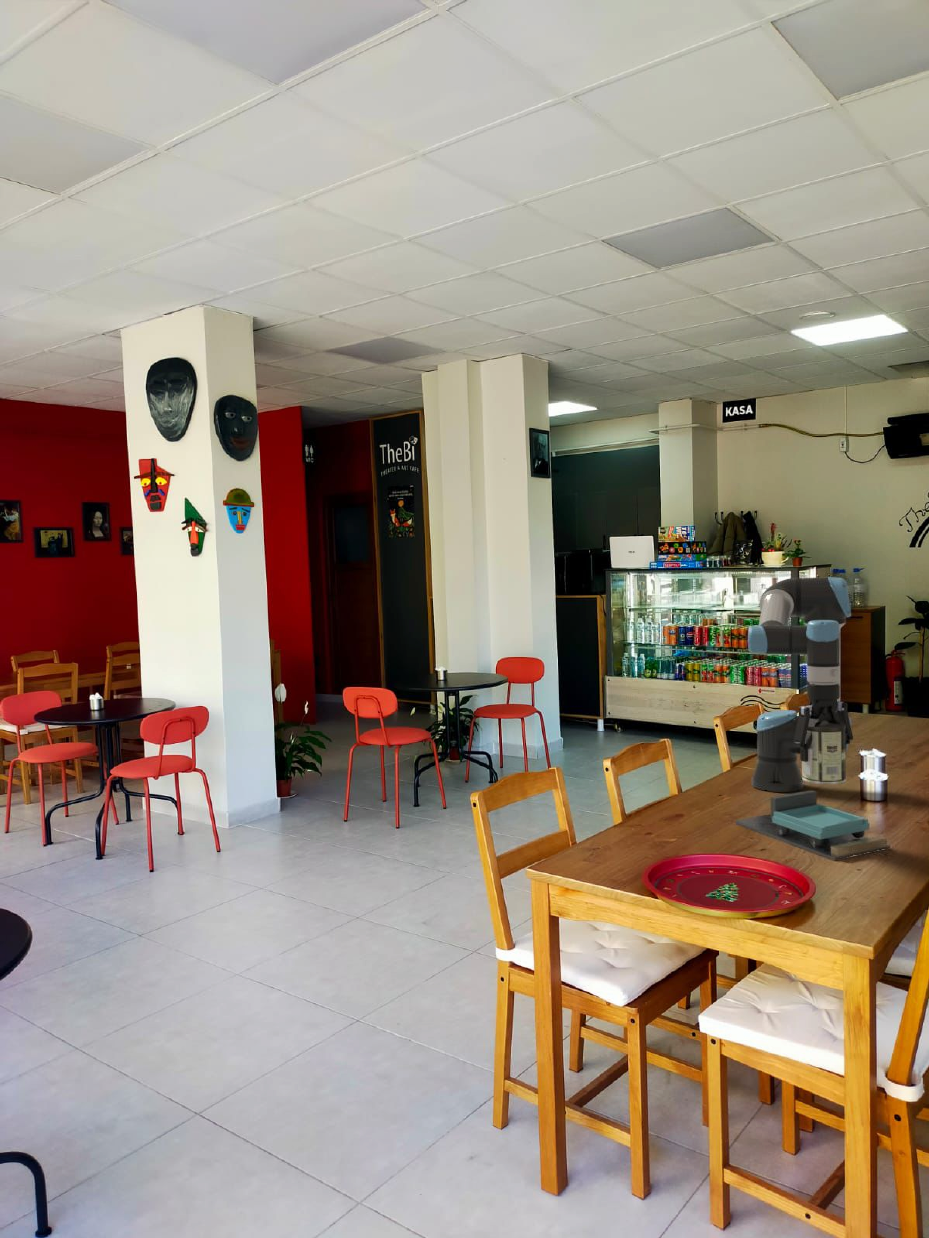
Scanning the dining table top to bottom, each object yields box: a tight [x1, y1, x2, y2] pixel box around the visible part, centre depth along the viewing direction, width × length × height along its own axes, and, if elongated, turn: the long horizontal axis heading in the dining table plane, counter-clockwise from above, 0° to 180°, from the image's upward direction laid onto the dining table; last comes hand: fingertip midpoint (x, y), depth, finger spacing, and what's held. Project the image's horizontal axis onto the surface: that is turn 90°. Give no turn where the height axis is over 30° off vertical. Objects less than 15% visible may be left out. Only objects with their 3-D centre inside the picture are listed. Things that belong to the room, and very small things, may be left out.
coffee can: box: [801, 721, 847, 786], centre depth 220 cm, size 10×10×14 cm
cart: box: [770, 790, 870, 847], centre depth 224 cm, size 18×16×8 cm
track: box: [734, 813, 891, 861], centre depth 227 cm, size 34×18×3 cm, turn 24°
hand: (823, 771), depth 221 cm, fingers closed on coffee can, 10 cm apart
